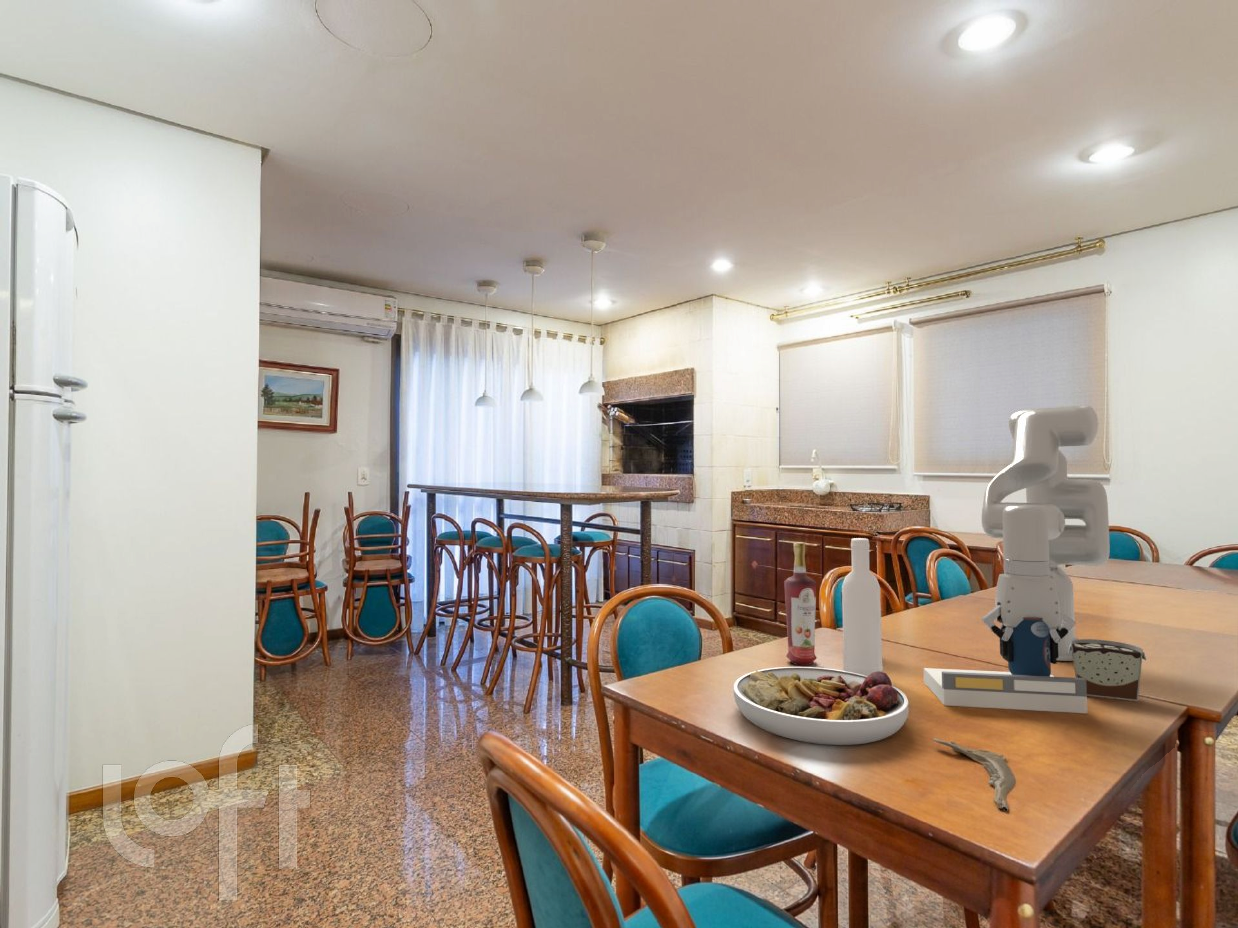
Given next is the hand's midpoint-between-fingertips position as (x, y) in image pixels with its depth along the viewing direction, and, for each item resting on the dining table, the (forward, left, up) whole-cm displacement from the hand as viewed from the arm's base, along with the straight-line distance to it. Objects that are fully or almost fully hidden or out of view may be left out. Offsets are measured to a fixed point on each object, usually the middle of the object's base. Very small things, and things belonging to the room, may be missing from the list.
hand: (1029, 660), depth 122 cm
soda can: (0, 0, -4) cm, 4 cm away
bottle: (+29, -9, -8) cm, 31 cm away
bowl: (+41, +16, -8) cm, 45 cm away
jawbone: (+22, +36, -8) cm, 43 cm away
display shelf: (+5, -1, -8) cm, 9 cm away
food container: (-16, -7, -8) cm, 19 cm away
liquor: (+41, -19, -8) cm, 46 cm away
